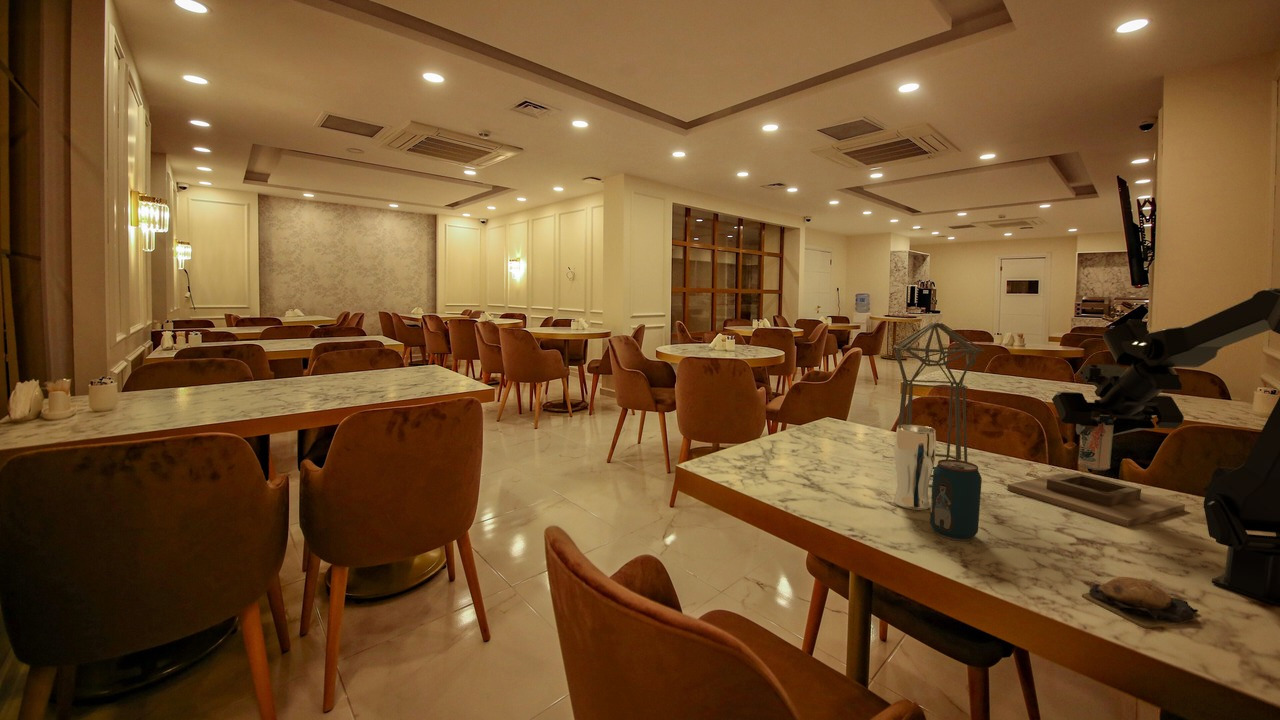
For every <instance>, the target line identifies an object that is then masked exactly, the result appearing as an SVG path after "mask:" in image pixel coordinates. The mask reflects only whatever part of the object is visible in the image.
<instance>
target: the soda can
mask: <svg viewBox="0 0 1280 720" xmlns="http://www.w3.org/2000/svg"><path fill="white" fill-rule="evenodd" d="M961 460H962V459H961ZM961 460H955V459H952V458H948V459H946V458H943V459H939V460H938V461H937V464H936V466H934V467H935V469H933V470H932V475H933V478H932V484H931V485H932V487H931V500H930V513H929V524H930V526H931V527H932V529H933V532H934V533H935V534H937V535H939V536H940V537H943V538H946V539H949V540H953V541H959V542H961V541H962V542H966V541H970V540H972V539H974V537H975V536H977V533H978V532H979V523H980V507H981V496H982V495H981V494H982V493H981V492H982V481H983V478H982V475H981V473H980V472H979V466H978V465H977V464H975V463H972V462H969V461H967V462H966V461H964V460H962V461H961Z"/></svg>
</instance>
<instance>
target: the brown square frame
mask: <svg viewBox="0 0 1280 720" xmlns="http://www.w3.org/2000/svg"><path fill="white" fill-rule="evenodd" d="M1006 490H1007V491H1010V492H1013V493H1015V494H1019V495H1022V496H1025V497H1026V496H1027V497H1029V498H1033V499H1036V500H1038V501H1042V502H1046V503H1048V504H1051V505H1055V506H1058V507H1062V508H1065V509H1068V510H1072V511H1073V512H1078V513H1081V514H1084V515H1087V516H1091V517H1094V518H1096V519H1097V518H1098V519H1100V520H1103V521H1106V522H1110V523H1114V524H1115V525H1116V524H1117V525H1120V526H1123V527H1126V528H1129V527H1132V526H1135V525H1139V524H1142V523H1146V522H1148V521H1152V520H1155V519H1158V518H1162V517H1166V516H1169V515H1173V514H1176V513H1179V512H1184V511H1185V508H1186V504H1185V503H1182V502H1180V501H1179V502H1178V501H1174V500H1170V499H1166V498H1163V497H1159V496H1155V495H1151V494H1148V493H1144V492H1142V488H1138V487H1134V486H1130V485H1126V484H1122V483H1118V482H1114V481H1110V480H1107V479H1106V480H1105V479H1104V478H1103V479H1102V478H1098V477H1095V476H1091V475H1087V474H1083V473H1079V472H1076V473H1071V474H1069V473H1065V472H1062V473H1059V474H1053V475H1052V474H1051V475H1048V476H1044V477H1039V478H1032V479H1029V480H1028V479H1026V480H1023V481H1018V482H1014V483H1009V484H1007V489H1006Z"/></svg>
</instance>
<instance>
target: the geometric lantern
mask: <svg viewBox="0 0 1280 720" xmlns="http://www.w3.org/2000/svg"><path fill="white" fill-rule="evenodd" d="M939 329H940V330H941V331H942V332H943V333H945V335H947V336H948V337H949V338H950V339H951V340H952V341H953V342H954V343H955V344H956V346H955V345H954V346H945V347H944V346H943V342H942V338H941V335H940V332H939ZM929 331H930V332H929ZM928 332H929V336H928V339H927V341H926V344H925V348H923V347H914V346H913V345H914V344H915V343H916V342H917V341H918V340H920V339H921V338H922V337H924V335H926V334H927V333H928ZM934 332H935V334H936V339H937V344H938V349H936V348H935V349H933V348H930V346H931V344H932V340H933V336H934ZM892 348H893V351H894V354H895V355H894V356H895V358H896V362H897V363H898V366H899V369H900V373H901V376H902V386H901V395H900V396H901V397H900V406H899V415H898V422H897V423H898V424H897V426H899V425H904V422H905V425H913V398H914V397H913V396H914V395H913V394H914V390H913V389H914V387H923V388H925V387H927V388H939V389H940V388H942V389H950V391H949V392H950V394H949V406H948V407H949V408H948V409H949V411H948V425H947V427H948V428H947V442H946V443H947V444H946V445H947V447H946V454H939V453H936V454H935V457H939V458H945V459H952V460H961V461H966V462H968V441H967V440H968V438H967V437H968V436H967V407H966V405H967V404H966V403H967V402H966V401H967V400H966V399H967V397H966V389H968V386H967V385H965V384H964V380H965V376H966V374H967V372H968V370H969V368H970V367H971V366H973V367H974V366H975V364H976V358H977V356H978V355H979V353H980V352H985V349H983V348H982V347H981V346H979V345H977V344H976V343H974V342H972V341H971V340H969V339H968V338H966V337H964V336H963V335H961V334H960V333H958V332H957V331H956V330H953V329H952V328H950V327H949V326H948V325H946V324H944V323H942V322H931V323H929V324H927V325H926V326H924V327H922V328H921V329H919V330H917V331H915V332H914V333H912V334H911V335H909V336H908V337H905V338H904V339H903V340H901V341H899V342H898V343H896V344H894V345H893V346H892ZM901 351H905V352H906V353H908V354H910V355H911V356H912V357H913V358H916V360H917V361H919V362H921V364H920V365H919V367H918V368H917V369H916V371H915V372H914V374H913V376H912V377H911V379H907V378H908V377H907V376H906V372H905V368H904V365H903V362H902V357H901V355H902V354H901ZM913 351H917V352H923V353H924V354H925V357H922V356H920V355H918V354H917V353H914V352H913ZM930 353H939V357H938V360H932V359H931V358H930ZM959 353H960V354H959ZM961 353H962V354H961ZM953 354H959V355H957V356H955V357H952V358H950V359H948V360H946V358H948V357H950V356H951V355H953ZM970 354H972V355H971V359H970ZM965 356H966V357H965ZM963 357H965V359H966V365H965V366H964V370H963V372H962V374H961V377H960V378H959V381H957V380H956V378H955V376H954V375H953V372H952V371H951V369H950V367H949V366H948V364H949V363H951V362H952V363H953V362H954V361H956V360H959V359H960V358H963ZM942 361H943V362H942ZM942 366H944V367H945V369H946V370H947V372H948V374H949V375H950V377H949V376H948V374H947V373H946V371H945V370H944V368H943V367H942ZM926 367H939V368H940V370H941V371H942V372H943V374H944V375H945V377H946V379H947V380H948V381H947V380H946V381H945V380H920V379H917V377H918V376H919V375H920V374H921V372H923V370H924V369H925V368H926ZM950 378H951V379H952V380H951V379H950ZM914 383H937V384H938V383H939V384H941V383H942V384H950V385H934V384H933V385H931V384H914ZM954 385H955V386H954ZM908 387H909V388H908ZM908 389H909V390H908ZM961 389H962V392H961V393H962V422H963V423H962V424H963V425H962V426H963V427H962V428H963V458H964V460H962V441H961V440H962V438H961V399H960V390H961ZM907 392H908V399H907ZM953 398H954V400H953ZM953 401H954V402H953ZM953 403H954V417H955V418H954V421H955V427H954V428H955V431H954V433H955V456H953V455H950V451H951V439H952V437H951V436H952V419H953V418H952V417H953V416H952V415H953ZM906 404H907V406H906ZM906 407H907V408H906ZM906 409H907V410H906ZM905 412H906V414H905ZM905 415H906V416H905ZM905 417H906V420H905ZM935 467H936V466H933V470H934V469H935ZM930 478H932V479H933V474H931V477H930ZM928 488H932V484H931V485H930V484H929V486H928Z"/></svg>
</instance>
